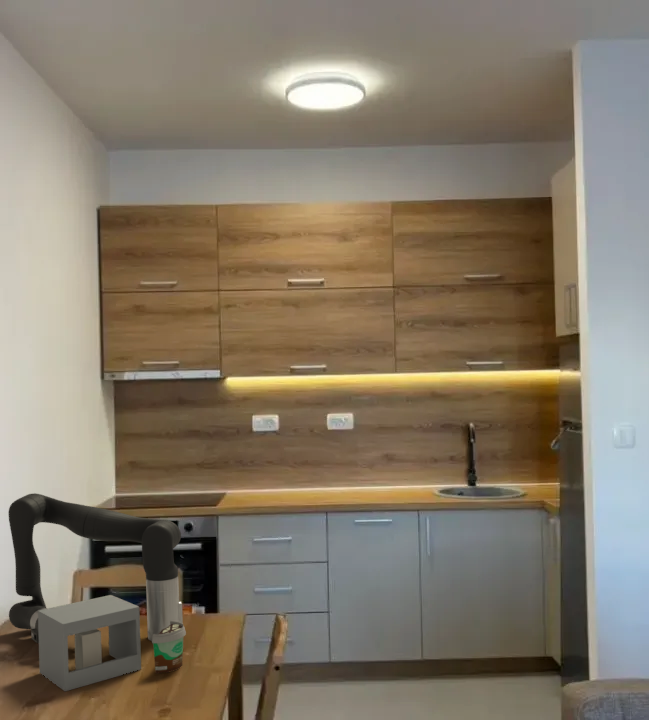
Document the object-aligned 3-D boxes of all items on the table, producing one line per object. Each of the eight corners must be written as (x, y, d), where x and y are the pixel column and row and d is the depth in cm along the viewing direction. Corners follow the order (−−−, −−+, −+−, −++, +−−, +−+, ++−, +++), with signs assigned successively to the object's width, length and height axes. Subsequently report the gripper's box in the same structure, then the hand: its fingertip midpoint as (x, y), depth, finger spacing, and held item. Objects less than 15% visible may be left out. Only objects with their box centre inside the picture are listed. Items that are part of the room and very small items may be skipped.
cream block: (94, 665, 204) (93, 627, 204) (102, 670, 200) (100, 631, 201) (75, 670, 201) (74, 631, 201) (83, 675, 197) (82, 635, 197)
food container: (176, 676, 194) (174, 635, 194) (153, 675, 195) (151, 635, 196) (194, 658, 206) (192, 620, 207) (172, 658, 207) (171, 620, 208)
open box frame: (112, 653, 213) (110, 594, 213) (141, 669, 200) (139, 606, 200) (39, 673, 200) (37, 610, 200) (64, 691, 187) (63, 624, 187)
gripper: (22, 616, 218) (42, 628, 206) (71, 605, 227) (94, 616, 215) (22, 643, 218) (43, 656, 206) (72, 631, 227) (95, 643, 215)
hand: (69, 636), depth 210 cm, fingers open, 8 cm apart
